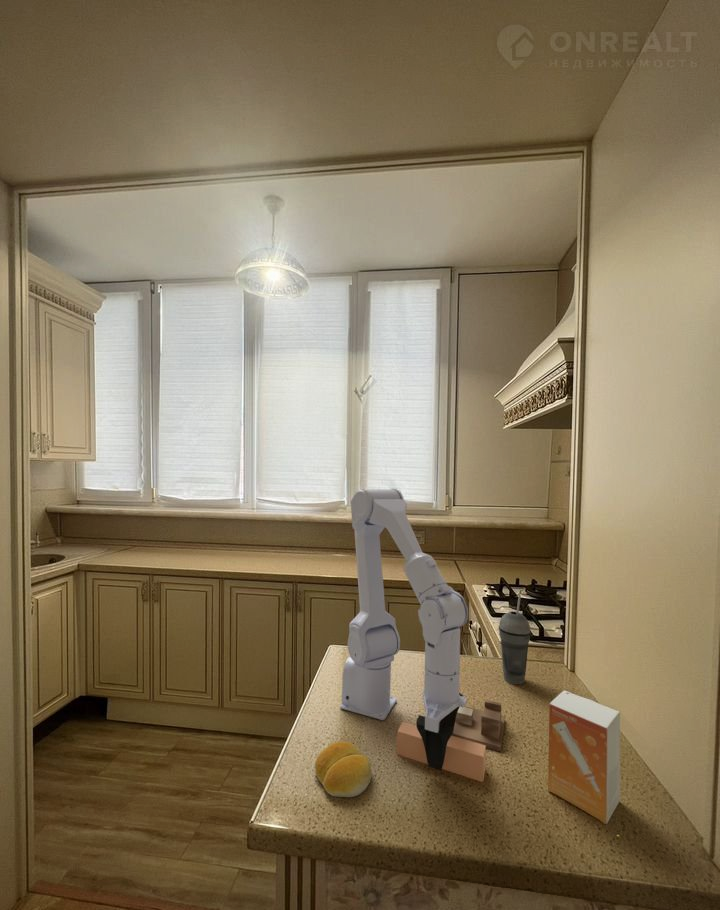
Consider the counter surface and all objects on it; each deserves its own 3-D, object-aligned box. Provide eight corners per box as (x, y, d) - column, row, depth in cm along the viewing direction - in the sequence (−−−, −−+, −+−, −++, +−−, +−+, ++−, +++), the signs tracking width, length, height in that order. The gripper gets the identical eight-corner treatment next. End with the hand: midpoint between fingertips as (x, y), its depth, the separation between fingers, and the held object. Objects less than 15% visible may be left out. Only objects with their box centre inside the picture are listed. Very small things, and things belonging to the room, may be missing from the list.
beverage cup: (506, 669, 100) (507, 587, 101) (536, 681, 94) (537, 594, 95) (491, 678, 95) (493, 592, 96) (521, 691, 89) (522, 600, 90)
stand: (421, 729, 75) (421, 707, 75) (433, 702, 84) (433, 682, 84) (500, 751, 69) (501, 727, 69) (504, 720, 78) (504, 699, 79)
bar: (396, 755, 68) (397, 731, 68) (402, 745, 71) (402, 721, 71) (483, 783, 62) (483, 756, 62) (485, 771, 65) (485, 745, 65)
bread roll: (335, 810, 56) (335, 780, 57) (308, 769, 64) (309, 743, 64) (383, 787, 61) (383, 760, 61) (352, 752, 68) (353, 727, 68)
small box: (547, 791, 61) (547, 702, 61) (563, 771, 65) (563, 688, 66) (607, 826, 55) (607, 727, 55) (621, 802, 59) (621, 710, 60)
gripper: (459, 694, 59) (457, 791, 58) (472, 655, 72) (471, 733, 71) (412, 683, 62) (410, 775, 61) (433, 647, 75) (432, 723, 74)
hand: (440, 752), depth 66 cm, fingers open, 7 cm apart
